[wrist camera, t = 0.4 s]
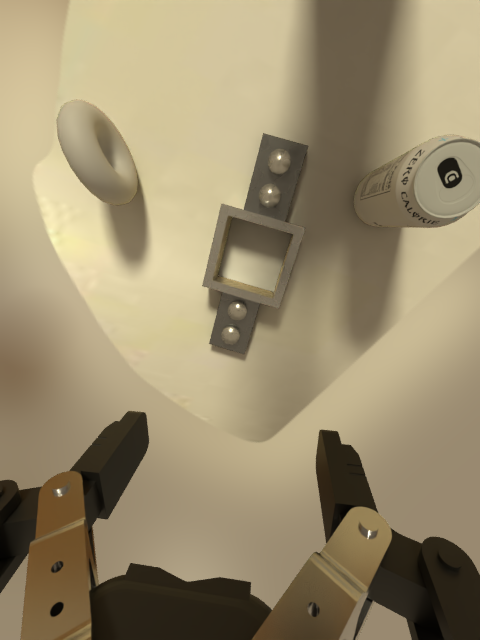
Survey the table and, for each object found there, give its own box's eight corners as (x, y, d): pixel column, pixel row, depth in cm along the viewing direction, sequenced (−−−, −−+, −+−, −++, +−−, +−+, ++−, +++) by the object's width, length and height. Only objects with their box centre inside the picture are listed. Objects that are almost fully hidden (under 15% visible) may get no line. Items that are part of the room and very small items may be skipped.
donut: (95, 125, 35) (27, 89, 25) (121, 114, 34) (60, 72, 25) (129, 211, 37) (78, 207, 28) (153, 202, 37) (110, 195, 27)
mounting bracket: (244, 131, 33) (240, 121, 30) (326, 154, 33) (332, 147, 29) (195, 334, 41) (188, 344, 38) (261, 354, 41) (259, 366, 38)
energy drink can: (365, 236, 35) (425, 244, 21) (342, 189, 34) (389, 164, 19) (416, 207, 33) (518, 195, 19) (394, 157, 32) (486, 104, 18)
